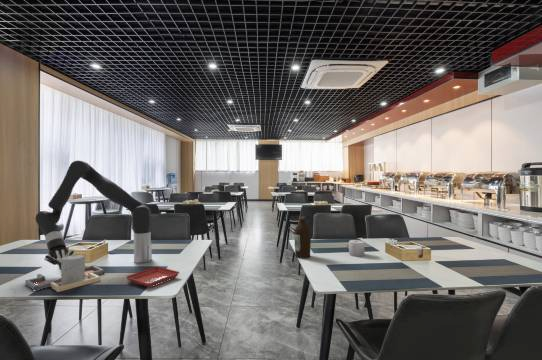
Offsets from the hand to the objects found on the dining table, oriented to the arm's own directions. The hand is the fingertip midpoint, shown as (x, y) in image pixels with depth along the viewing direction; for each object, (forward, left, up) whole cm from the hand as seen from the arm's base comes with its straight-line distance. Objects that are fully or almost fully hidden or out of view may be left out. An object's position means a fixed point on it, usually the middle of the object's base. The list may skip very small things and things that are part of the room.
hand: (64, 269), depth 147 cm
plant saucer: (-46, +10, -5) cm, 47 cm away
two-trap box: (-4, +3, -4) cm, 6 cm away
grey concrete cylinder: (-9, +9, -4) cm, 13 cm away
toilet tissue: (-163, -20, -4) cm, 165 cm away
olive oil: (-128, -20, -4) cm, 130 cm away
